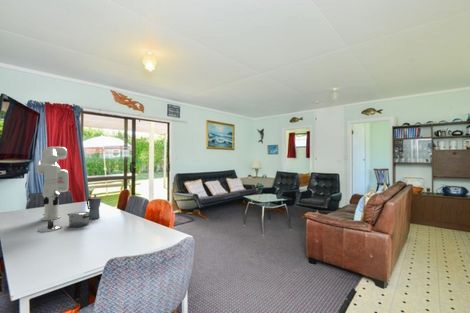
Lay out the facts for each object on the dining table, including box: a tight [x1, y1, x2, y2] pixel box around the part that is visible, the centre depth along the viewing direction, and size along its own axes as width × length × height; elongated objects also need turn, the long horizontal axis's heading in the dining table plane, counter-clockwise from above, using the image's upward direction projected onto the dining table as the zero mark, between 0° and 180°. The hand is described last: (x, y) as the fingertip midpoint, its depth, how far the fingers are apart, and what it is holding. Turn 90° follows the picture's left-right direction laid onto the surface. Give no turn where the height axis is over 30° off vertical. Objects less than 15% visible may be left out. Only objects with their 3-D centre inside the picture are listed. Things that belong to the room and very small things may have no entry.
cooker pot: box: [67, 211, 91, 229], centre depth 179 cm, size 21×13×9 cm, turn 72°
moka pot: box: [86, 194, 102, 220], centre depth 200 cm, size 10×15×20 cm, turn 174°
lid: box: [37, 219, 63, 233], centre depth 169 cm, size 14×14×6 cm
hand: (50, 204), depth 169 cm, fingers open, 9 cm apart
